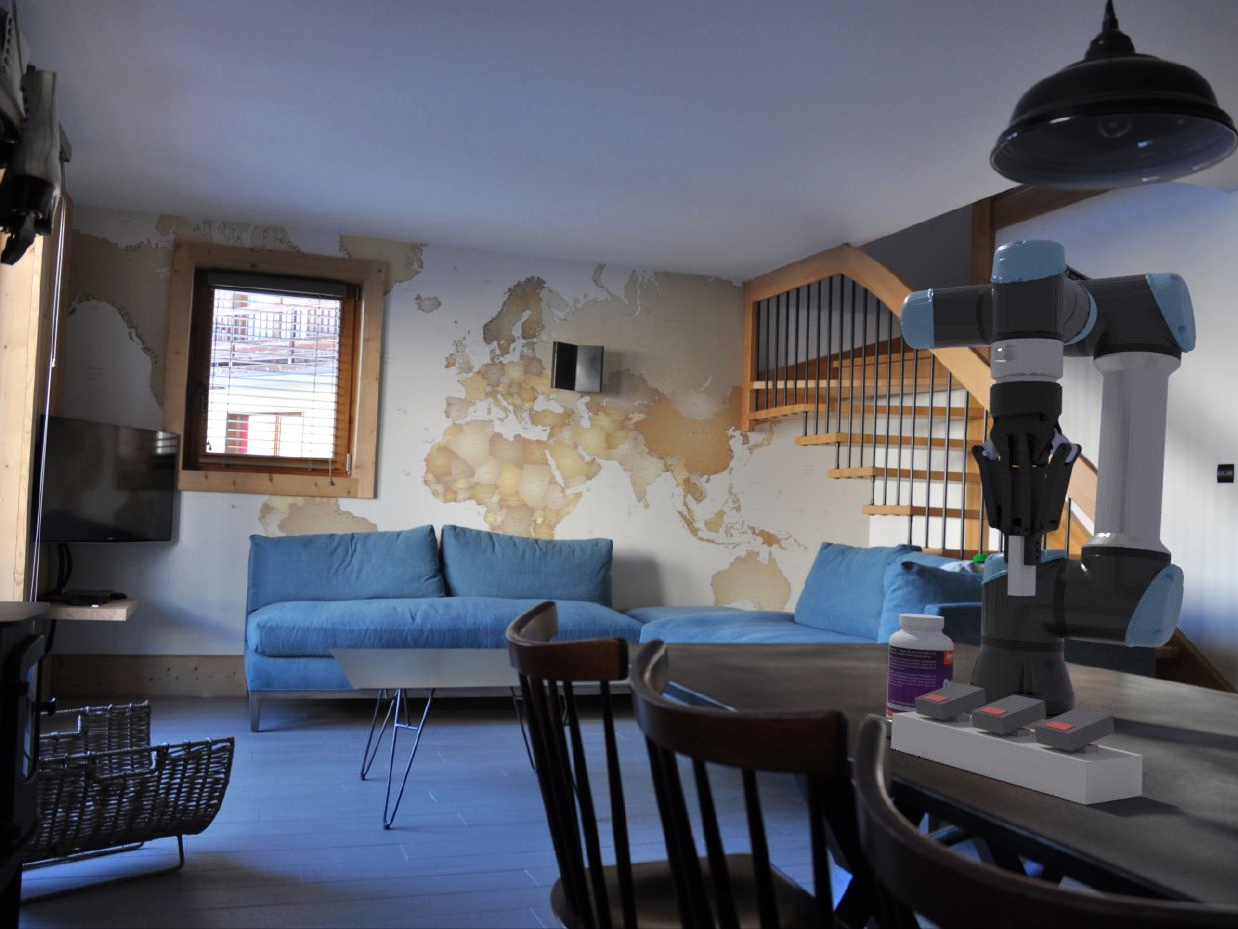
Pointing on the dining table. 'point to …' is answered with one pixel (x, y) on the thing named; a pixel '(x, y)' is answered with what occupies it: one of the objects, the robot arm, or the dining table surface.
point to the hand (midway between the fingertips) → (1021, 594)
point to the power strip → (1019, 757)
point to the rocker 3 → (1074, 729)
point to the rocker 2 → (1008, 714)
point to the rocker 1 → (950, 701)
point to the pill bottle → (917, 661)
